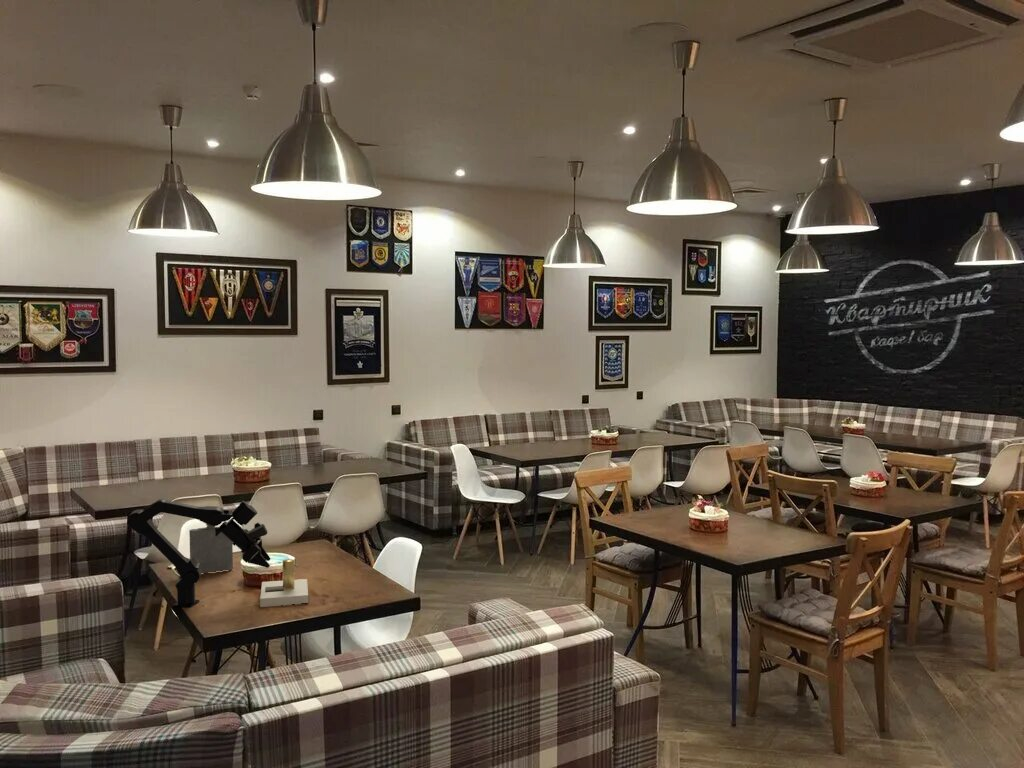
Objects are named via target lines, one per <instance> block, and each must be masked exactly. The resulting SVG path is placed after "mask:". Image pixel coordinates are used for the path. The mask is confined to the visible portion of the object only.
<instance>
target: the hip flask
mask: <svg viewBox="0 0 1024 768" xmlns="http://www.w3.org/2000/svg"><path fill="white" fill-rule="evenodd" d="M205 525H206V527H198V528H191V529H189V534H188V535H189V559H190V558H191V557H192V556H193V557H194V559H195V560H196V561H197V562H198V563H200V567H201V570H202V571H201V573H208V572H216V571H223V570H232V569H233V570H234V559H233V558H234V557H233V556H234V554H233V553H234V550H233V546H234V545H233V544H232V543H233V542H232V541H230V540H229V539H228V538H227V537H226V536H225V535H224V534H222V533H220V534H219V535H218V536H215V527H216V526H212V525H209V524H206V523H205ZM233 570H232V571H233Z"/></svg>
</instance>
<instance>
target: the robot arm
mask: <svg viewBox="0 0 1024 768" xmlns="http://www.w3.org/2000/svg"><path fill="white" fill-rule="evenodd" d="M160 513H165V514H169V515H174V516H175V515H176V516H179V517H183V518H190V519H196V520H198V521H199V522H201V523H203V524H205V525H206V524H209V525H212V526H215V536H218V535H219V534H220V533H222V534H224V535H225V536H226V537H227V538H228V539H229V540H230V541H232V544H233V546H234V547H235V546H236V547H237V548H238V549H240V552H241V553H242V560H243V561H244V562H245V563H248V564H252V565H256V566H260V567H263V568H266V569H269V568H270V566H271V564H269V562H270V561H271V557H270V556H269V553H267V551H266V550H265V549H264V546H263V539H262V537H264V536H267V535H268V529H267V528H266V525H265V523H262V524H261V523H260V522H256V523H254V525H253V526H254V527H253V528H252V529H250V530H248V528H246V529H245V528H244V527H242V526H243V525H245V526H247V525H248V523H250V522H251V520H252V519H253V518H255V517H256V516H257V514H258V511H257V510H256V509H255V507H254V506H252V505H251V504H250V503H247V502H245V501H244V500H242V501H240V503H239V505H238V506H236V508H235V509H233V510H231V509H223V508H222V507H221V506H213V505H211V506H210V505H207V506H197V505H193V504H192V505H191V504H186V503H182V502H177V501H169V500H165V499H164V498H159V499H157V500H156V501H155V502H153V503H151V504H148V505H147V506H145V507H144V508H143V509H142V508H141V509H135V510H133V511H132V512H131V513H130V515H128V517H127V518H126V519H127V520H126V524H127V526H128V527H129V528H130V529H131V530H132V531H134V532H135V533H137V534H138V535H141V536H143V537H145V538H146V539H147V540H148V541H149V542H150V543H151V544H152V545H153V546H154V547H155V548H156V549H157V550H158V551H159V552H160V553H161V554H162V555H163V556H164V557H165V558H166V559H167V560H168V561H169V562H170V563H171V564H172V565H173V566H174V568H175V569H176V572H177V573H178V575H179V577H178V579H177V582H175V588H176V596H177V597H176V599H177V602H175V603H174V604H173V607H181V608H182V607H184V608H186V607H187V608H191V607H192V606H194V605H196V604H198V603H199V602H200V599H196V583H197V582H198V581H199V580H200V577H201V571H202V570H201V567H200V563H198V562H197V561H196V560H195V559H194V557H193V556H192V557H191V558H190V557H189V558H188V557H186V556H184V555H183V554H182V552H180V550H178V549H177V548H176V546H174V545H173V544H172V543H171V542H170V541H169V540H168V539H167V537H165V536H164V535H163V534H162V533H161V532H160V531H159V529H158V528H157V527H156V525H155V524H154V522H153V520H152V518H154V517H155V516H157V515H159V514H160Z"/></svg>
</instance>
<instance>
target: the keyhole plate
mask: <svg viewBox="0 0 1024 768" xmlns="http://www.w3.org/2000/svg"><path fill="white" fill-rule="evenodd" d="M260 588H261V590H260V597H259V600H260V602H259V604H260V605H259V606H260V608H267V607H269V608H270V607H279V606H280V607H282V606H281V605H283V606H293V605H292V604H295V605H302V604H301V603H308V604H309V591H308V578H299V579H294V587H292V589H289V590H285V588H283V580H272V581H271V580H270V581H261V587H260Z"/></svg>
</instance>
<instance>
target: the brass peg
mask: <svg viewBox="0 0 1024 768" xmlns="http://www.w3.org/2000/svg"><path fill="white" fill-rule="evenodd" d="M294 580H295V559H293V558H287V559H283V560H282V581H283V588H285V590H289V589H292V587H294Z"/></svg>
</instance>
